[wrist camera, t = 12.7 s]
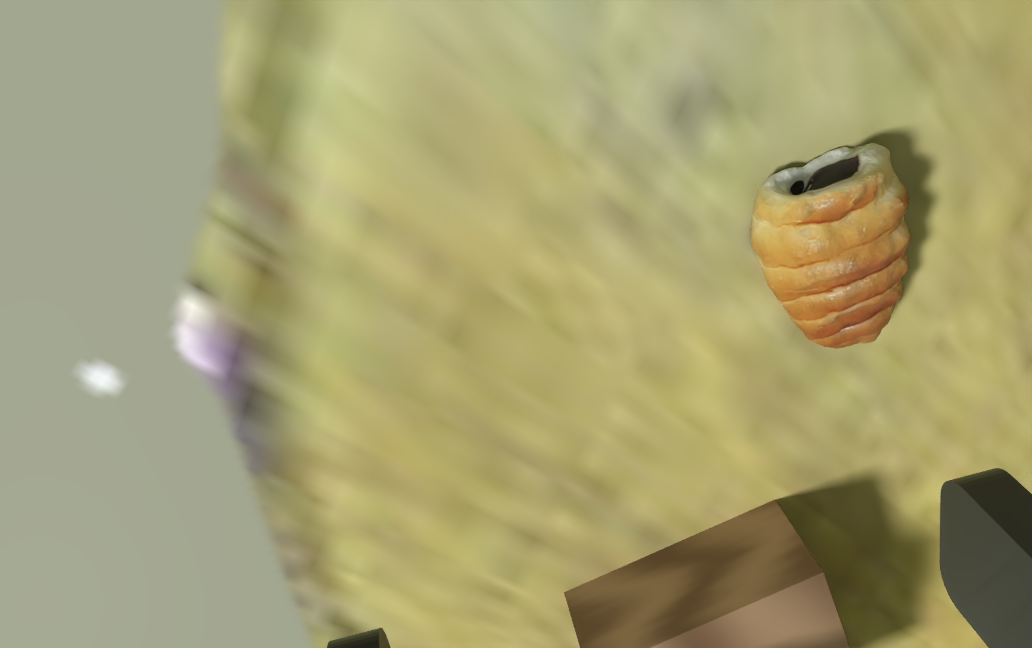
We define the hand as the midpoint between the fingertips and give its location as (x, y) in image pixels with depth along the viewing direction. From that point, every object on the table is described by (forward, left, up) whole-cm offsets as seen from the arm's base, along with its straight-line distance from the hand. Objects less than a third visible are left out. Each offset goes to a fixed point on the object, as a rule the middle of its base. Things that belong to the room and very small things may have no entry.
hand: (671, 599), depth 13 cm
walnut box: (-7, +30, -28) cm, 42 cm away
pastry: (-15, +9, -29) cm, 33 cm away
